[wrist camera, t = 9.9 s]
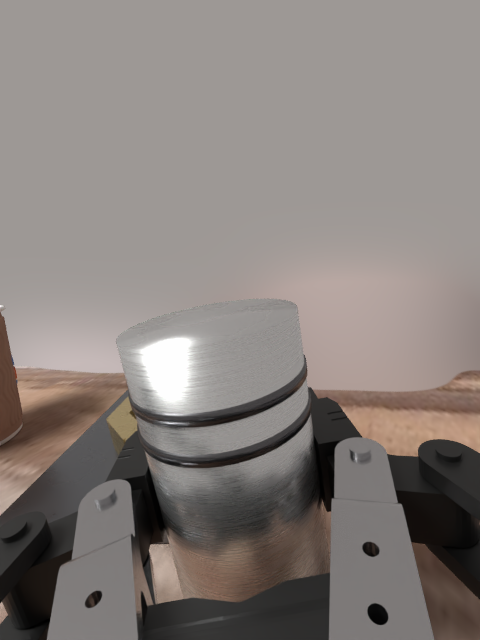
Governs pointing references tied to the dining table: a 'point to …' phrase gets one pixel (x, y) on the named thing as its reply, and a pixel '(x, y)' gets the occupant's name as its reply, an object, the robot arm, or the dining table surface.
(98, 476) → the collar plate
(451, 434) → the dining table surface
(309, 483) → the piston
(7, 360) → the coffee cup
